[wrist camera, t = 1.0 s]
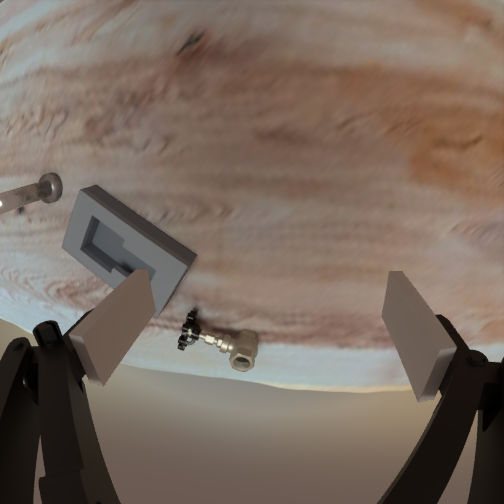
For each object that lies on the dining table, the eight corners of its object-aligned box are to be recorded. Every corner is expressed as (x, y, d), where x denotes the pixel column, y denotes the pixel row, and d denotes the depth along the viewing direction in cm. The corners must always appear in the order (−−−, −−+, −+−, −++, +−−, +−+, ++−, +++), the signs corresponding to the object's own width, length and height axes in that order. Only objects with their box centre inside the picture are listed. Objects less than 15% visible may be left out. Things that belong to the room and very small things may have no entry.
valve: (265, 326, 46) (194, 302, 46) (262, 352, 40) (181, 324, 40) (253, 355, 49) (186, 332, 49) (248, 381, 43) (174, 356, 43)
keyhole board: (76, 238, 45) (61, 247, 41) (96, 184, 41) (80, 189, 37) (166, 305, 47) (156, 319, 43) (197, 254, 43) (187, 266, 39)
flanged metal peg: (41, 178, 42) (-14, 193, 29) (58, 168, 41) (1, 182, 28) (48, 204, 43) (-6, 225, 31) (65, 196, 42) (9, 216, 30)
